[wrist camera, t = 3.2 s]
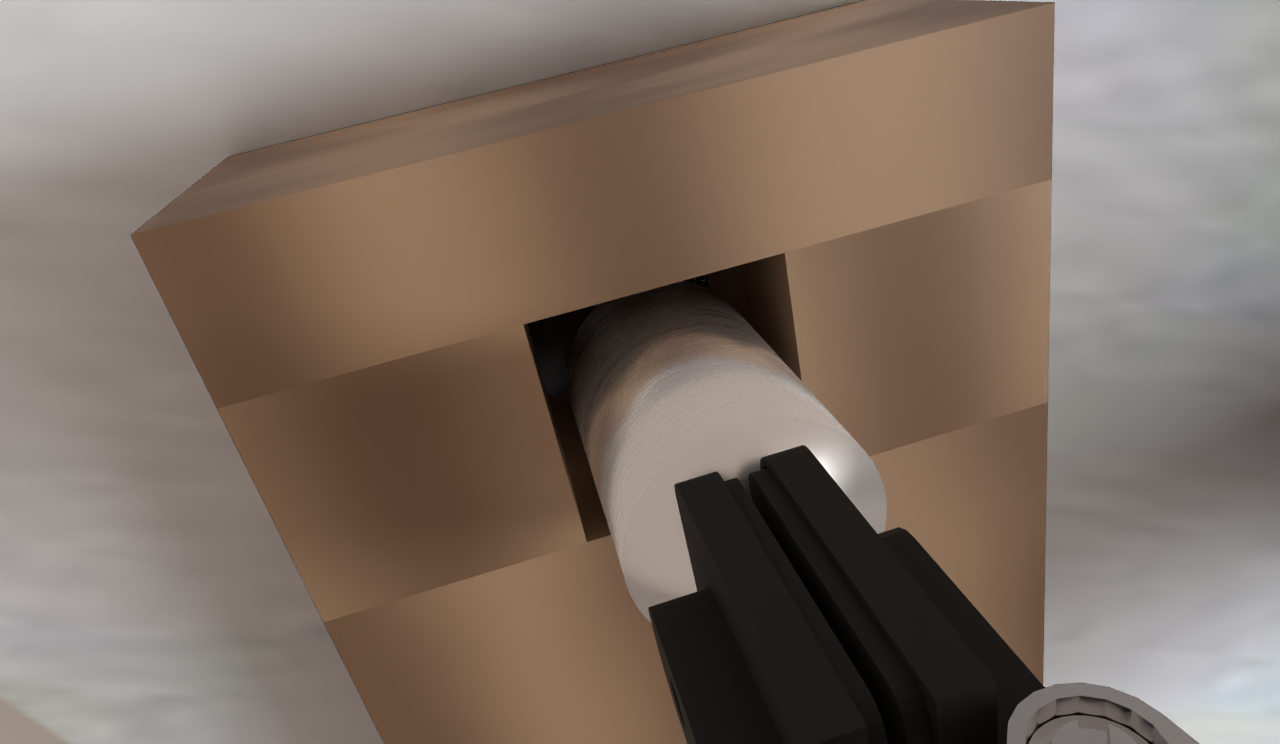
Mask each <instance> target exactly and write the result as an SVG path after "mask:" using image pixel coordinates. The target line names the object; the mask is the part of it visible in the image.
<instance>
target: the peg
mask: <svg viewBox="0 0 1280 744" xmlns="http://www.w3.org/2000/svg"><path fill="white" fill-rule="evenodd" d="M565 377H566V388H567V393H568V397H569V401H570V404H571V407H572V410H573V414H574V417H575V420H576V423H577V427H578V430H579V433H580V436H581V439H582V443H583V446H584V449H585V452H586V456H587V459H588V462H589V465H590V469H591V472H592V475H593V478H594V482H595V485H596V488H597V491H598V494H599V498H600V501H601V504H602V507H603V511H604V514H605V517H606V520H607V524H608V527H609V530H610V533H611V537H612V540H613V543H614V546H615V550H616V553H617V556H618V559H619V562H620V566H621V569H622V572H623V575H624V579H625V582H626V585H627V587H628V590H629V593H630V596H631V597H632V599H633V601H634V603H635V604H636V606H637V608H638V609H639V610H640V611H641V613H642V614H643V615H644V616H645V618H646V619H647V620H648V621H650V622H651V619H650V615H649V611H648V607H651V606H654V605H657V604H660V603H663V602H666V601H670V600H673V599H676V598H679V597H682V596H685V595H688V594H691V593H695V592H697V588H696V584H695V579H694V575H693V570H692V566H691V561H690V557H689V553H688V548H687V544H686V539H685V535H684V530H683V526H682V522H681V517H680V513H679V508H678V504H677V499H676V494H675V488H674V485H675V484H676V483H679V482H683V481H686V480H689V479H693V478H696V477H699V476H702V475H706V474H709V473H712V472H718V473H719V474H720V475H721V477H722V479H723V480H724V481H726V480H730V479H733V478H738V479H739V480H740V482H741V483H742V485H743V487H744V488H745V490H746V492H747V493H748V495H749V496H750V498H751V494H750V488H749V481H748V475H749V473H753V472H756V471H759V470H761V469H760V460H761V458H762V457H765V456H768V455H771V454H775V453H778V452H781V451H784V450H788V449H791V448H794V447H798V446H801V445H805V446H806V447H807V448H808V449H809V450H810V451H811V452H812V453H813V454H814V456H815V457H816V458H817V459H818V461H819V462H820V463H821V464H822V466H823V467H824V468H825V469H826V471H827V472H828V473H829V474H830V476H831V477H832V478H833V479H834V480H835V482H836V483H837V484H838V485H839V487H840V488H841V489H842V490H843V492H844V493H845V494H846V495H847V497H848V498H849V499H850V500H851V501H852V503H853V504H854V505H855V506H856V508H857V509H858V510H859V511H860V513H861V514H862V515H863V516H864V518H865V519H866V520H867V521H868V523H869V524H870V525H871V526H872V527H873V529H874V530H875V531H876V532H877V534H879V533H882V532H884V531H885V524H886V517H887V502H886V495H885V489H884V485H883V482H882V479H881V476H880V473H879V472H878V470H877V468H876V466H875V464H874V462H873V461H872V459H871V458H870V457H869V456H868V454H867V453H866V452H865V450H864V449H863V448H862V447H861V446H860V445H859V444H858V443H857V442H856V440H855V439H854V438H853V437H852V436H851V435H850V434H849V433H848V432H847V431H846V430H845V428H844V427H843V426H842V425H841V424H840V423H839V422H838V421H837V420H836V419H835V417H834V416H833V415H832V414H831V413H830V412H829V411H828V410H827V409H826V408H825V406H824V405H823V404H822V403H821V402H820V401H819V400H818V399H817V398H816V397H815V395H814V394H813V393H812V392H811V391H810V390H809V389H808V388H807V387H806V386H805V385H804V383H803V382H802V381H801V380H800V379H799V378H798V377H797V376H796V375H795V374H794V372H793V371H792V370H791V369H790V368H789V367H788V366H787V365H786V364H785V363H784V361H783V360H782V359H781V358H780V357H779V356H778V355H777V354H776V353H775V352H774V351H773V349H772V348H771V347H770V346H769V345H768V344H767V343H766V342H765V341H764V340H763V338H762V337H761V336H760V335H759V334H758V333H757V332H756V331H755V330H754V329H753V327H752V326H751V325H750V324H749V323H748V322H747V321H746V320H745V319H744V318H743V316H742V315H741V314H740V313H739V312H738V311H737V310H736V309H735V308H734V307H733V306H732V304H730V303H729V302H728V301H727V300H726V299H725V298H724V297H723V296H721V295H720V294H719V293H717V292H716V291H714V290H712V289H710V288H708V287H706V286H704V285H702V284H699V283H696V282H693V281H688V280H684V281H680V282H676V283H673V284H669V285H665V286H662V287H658V288H655V289H651V290H647V291H644V292H640V293H636V294H633V295H629V296H625V297H622V298H618V299H615V300H611V301H607V302H604V303H601V304H599V305H598V306H597V307H596V308H595V309H594V310H593V311H592V312H591V313H590V314H589V315H588V316H587V318H586V319H585V320H584V322H583V323H582V325H581V326H580V327H579V329H578V331H577V333H576V335H575V337H574V338H573V341H572V344H571V346H570V349H569V353H568V357H567V361H566V371H565Z"/></svg>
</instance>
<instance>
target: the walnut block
mask: <svg viewBox="0 0 1280 744" xmlns="http://www.w3.org/2000/svg"><path fill="white" fill-rule="evenodd" d="M1054 6H1055V3H1054V2H1017V1H979V0H865V1H861V2H857V3H853V4H849V5H845V6H841V7H836V8H832V9H828V10H824V11H820V12H816V13H812V14H808V15H804V16H800V17H796V18H792V19H788V20H783V21H779V22H775V23H771V24H767V25H763V26H759V27H755V28H751V29H747V30H743V31H739V32H735V33H730V34H726V35H722V36H718V37H714V38H710V39H706V40H702V41H698V42H694V43H690V44H686V45H682V46H678V47H673V48H669V49H665V50H661V51H657V52H653V53H649V54H645V55H641V56H637V57H633V58H629V59H625V60H620V61H616V62H612V63H608V64H604V65H600V66H596V67H592V68H588V69H584V70H580V71H576V72H572V73H567V74H563V75H559V76H555V77H551V78H547V79H543V80H539V81H535V82H531V83H527V84H523V85H519V86H514V87H510V88H506V89H502V90H498V91H494V92H490V93H486V94H482V95H478V96H474V97H470V98H466V99H461V100H457V101H453V102H449V103H445V104H441V105H437V106H433V107H429V108H425V109H421V110H417V111H413V112H408V113H404V114H400V115H396V116H392V117H388V118H384V119H380V120H376V121H372V122H368V123H364V124H360V125H355V126H351V127H347V128H343V129H339V130H335V131H331V132H327V133H323V134H319V135H315V136H311V137H307V138H302V139H298V140H294V141H290V142H286V143H282V144H278V145H274V146H270V147H266V148H262V149H258V150H254V151H249V152H245V153H241V154H237V155H233V156H229V157H227V158H226V159H225V160H224V161H222V162H221V163H220V164H219V165H217V166H216V167H215V168H214V169H212V170H211V171H210V172H209V173H207V174H206V175H205V176H204V177H202V178H201V179H200V180H199V181H197V182H196V183H195V184H194V185H192V186H191V187H190V188H189V189H187V190H186V191H185V192H184V193H182V194H181V195H180V196H179V197H177V198H176V199H175V200H174V201H172V202H171V203H170V204H169V205H167V206H166V207H165V208H164V209H162V210H161V211H160V212H159V213H157V214H156V215H155V216H154V217H152V218H151V219H150V220H149V221H147V222H146V223H145V224H144V225H142V226H141V227H140V228H139V229H137V230H136V231H135V232H134V233H132V234H131V237H132V239H133V241H134V243H135V245H136V247H137V249H138V251H139V253H140V255H141V257H142V259H143V261H144V263H145V265H146V267H147V269H148V271H149V273H150V275H151V277H152V279H153V281H154V283H155V285H156V287H157V289H158V291H159V293H160V295H161V297H162V299H163V301H164V303H165V305H166V307H167V309H168V311H169V313H170V315H171V317H172V319H173V321H174V323H175V325H176V327H177V329H178V331H179V333H180V335H181V337H182V339H183V341H184V343H185V345H186V347H187V349H188V351H189V353H190V355H191V357H192V360H193V362H194V364H195V366H196V368H197V370H198V372H199V374H200V376H201V378H202V380H203V382H204V384H205V386H206V388H207V390H208V392H209V394H210V396H211V398H212V400H213V402H214V404H215V406H216V408H217V410H218V412H219V414H220V416H221V418H222V420H223V422H224V424H225V426H226V428H227V430H228V432H229V434H230V436H231V438H232V440H233V442H234V444H235V446H236V448H237V450H238V452H239V454H240V456H241V458H242V460H243V462H244V464H245V466H246V468H247V470H248V472H249V474H250V476H251V478H252V480H253V482H254V484H255V486H256V488H257V490H258V492H259V494H260V496H261V498H262V500H263V502H264V504H265V506H266V508H267V510H268V512H269V514H270V516H271V518H272V520H273V522H274V524H275V526H276V528H277V530H278V532H279V534H280V536H281V538H282V540H283V542H284V544H285V546H286V548H287V550H288V552H289V554H290V556H291V558H292V560H293V562H294V564H295V566H296V568H297V570H298V572H299V574H300V576H301V578H302V580H303V582H304V584H305V586H306V588H307V590H308V592H309V594H310V596H311V598H312V600H313V602H314V604H315V606H316V608H317V610H318V612H319V614H320V616H321V618H322V620H323V622H324V624H325V626H326V628H327V630H328V632H329V634H330V636H331V638H332V640H333V642H334V644H335V646H336V648H337V650H338V652H339V654H340V656H341V658H342V660H343V662H344V664H345V666H346V668H347V670H348V672H349V674H350V676H351V678H352V680H353V682H354V684H355V686H356V688H357V690H358V692H359V694H360V696H361V698H362V700H363V702H364V704H365V706H366V708H367V710H368V712H369V714H370V716H371V718H372V720H373V722H374V724H375V726H376V728H377V730H378V732H379V734H380V736H381V738H382V740H383V742H384V744H687V741H686V738H685V735H684V732H683V729H682V726H681V723H680V720H679V717H678V714H677V711H676V708H675V705H674V701H673V698H672V695H671V692H670V688H669V685H668V682H667V678H666V675H665V671H664V668H663V664H662V661H661V657H660V654H659V650H658V646H657V642H656V639H655V635H654V631H653V627H652V623H651V622H650V621H648V620H647V619H646V618H645V616H644V615H643V614H642V613H641V611H640V610H639V609H638V608H637V606H636V604H635V603H634V601H633V599H632V597H631V596H630V593H629V590H628V587H627V585H626V582H625V579H624V575H623V572H622V569H621V566H620V562H619V559H618V556H617V553H616V550H615V546H614V543H613V540H612V537H611V533H610V530H609V527H608V524H607V520H606V517H605V514H604V511H603V507H602V504H601V501H600V498H599V494H598V491H597V488H596V485H595V482H594V478H593V475H592V472H591V469H590V465H589V462H588V459H587V456H586V452H585V449H584V446H583V443H582V439H581V436H580V433H579V430H578V427H577V423H576V420H575V417H574V414H573V410H572V407H571V404H570V401H569V397H568V393H567V394H563V395H560V396H556V397H553V398H549V396H548V392H547V389H546V385H545V382H544V378H543V375H542V372H541V368H540V365H539V361H538V358H537V354H536V351H535V347H534V344H533V341H532V337H531V334H530V330H529V327H528V323H531V322H534V321H538V320H542V319H545V318H549V317H553V316H556V315H560V314H564V313H567V312H571V311H574V310H578V309H582V308H585V307H589V306H593V305H596V304H600V303H604V302H607V301H611V300H615V299H618V298H622V297H625V296H629V295H633V294H636V293H640V292H644V291H647V290H651V289H655V288H658V287H662V286H665V285H669V284H673V283H676V282H680V281H684V280H687V279H691V278H695V277H698V276H702V275H705V274H706V276H707V282H708V288H710V289H712V290H714V291H716V292H717V293H719V294H720V295H721V296H723V297H724V298H725V299H726V300H727V301H728V302H729V303H730V304H732V306H733V307H734V308H735V309H736V310H737V311H738V312H739V313H740V314H741V315H742V316H743V318H744V319H745V320H746V321H747V322H748V323H749V324H750V325H751V326H752V327H753V329H754V330H755V331H756V332H757V333H758V334H759V335H760V336H761V337H762V338H763V340H764V341H765V342H766V343H767V344H768V345H769V346H770V347H771V348H772V349H773V351H774V352H775V353H776V354H777V355H778V356H779V357H780V358H781V359H782V360H783V361H784V363H785V364H786V365H787V366H788V367H789V368H790V369H791V370H792V371H793V372H794V374H795V375H796V376H797V377H798V378H799V379H800V380H801V381H802V382H803V383H804V385H805V386H806V387H807V388H808V389H809V390H810V391H811V392H812V393H813V394H814V395H815V397H816V398H817V399H818V400H819V401H820V402H821V403H822V404H823V405H824V406H825V408H826V409H827V410H828V411H829V412H830V413H831V414H832V415H833V416H834V417H835V419H836V420H837V421H838V422H839V423H840V424H841V425H842V426H843V427H844V428H845V430H846V431H847V432H848V433H849V434H850V435H851V436H852V437H853V438H854V439H855V440H856V442H857V443H858V444H859V445H860V446H861V447H862V448H863V449H864V450H865V452H866V453H867V454H868V456H869V457H870V458H871V459H872V461H873V462H874V464H875V466H876V468H877V470H878V472H879V473H880V476H881V479H882V482H883V485H884V489H885V495H886V502H887V517H886V524H885V531H888V530H891V529H894V528H898V527H900V528H903V529H906V530H907V531H908V532H909V533H910V534H911V535H912V536H913V537H914V538H915V539H916V540H917V541H918V542H919V543H920V544H921V546H922V547H923V548H924V549H925V550H926V551H927V553H928V554H929V555H930V556H931V557H932V558H933V559H934V561H935V562H936V563H937V564H938V565H939V566H940V567H941V569H942V570H943V571H944V572H945V573H946V574H947V575H948V577H949V578H950V579H951V580H952V581H953V582H954V584H955V585H956V586H957V587H958V588H959V589H960V590H961V592H962V593H963V594H964V595H965V596H966V597H967V598H968V600H969V601H970V602H971V603H972V604H973V605H974V607H975V608H976V609H977V610H978V611H979V612H980V613H981V615H982V616H983V617H984V618H985V619H986V620H987V621H988V623H989V624H990V625H991V626H992V627H993V628H994V630H995V631H996V632H997V633H998V634H999V635H1000V636H1001V638H1002V639H1003V640H1004V641H1005V642H1006V643H1007V644H1008V646H1009V647H1010V648H1011V649H1012V650H1013V651H1014V653H1015V654H1016V655H1017V656H1018V657H1019V658H1020V659H1021V661H1022V662H1023V663H1024V664H1025V665H1026V666H1027V667H1028V669H1029V670H1030V671H1031V672H1032V673H1033V674H1034V676H1035V677H1036V678H1037V679H1038V680H1039V681H1040V682H1041V684H1042V685H1043V652H1044V593H1045V534H1046V476H1047V417H1048V358H1049V299H1050V241H1051V182H1052V123H1053V65H1054ZM885 531H884V532H885Z"/></svg>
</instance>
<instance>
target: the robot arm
mask: <svg viewBox="0 0 1280 744" xmlns="http://www.w3.org/2000/svg"><path fill="white" fill-rule="evenodd" d="M760 469H761V470H759V471H756V472H753V473H749V475H748V481H749V488H750V494H751V498H750V496H749V495H748V493H747V492H746V490H745V488H744V487H743V485H742V483H741V482H740V480H739V479H738V478H733V479H730V480H726V481H724V480H723V479H722V477H721V475H720V474H719V473H718V472H712V473H709V474H706V475H702V476H699V477H696V478H693V479H689V480H686V481H683V482H679V483H676V484H675V485H674V488H675V494H676V499H677V504H678V508H679V513H680V517H681V522H682V526H683V530H684V535H685V539H686V544H687V548H688V553H689V557H690V561H691V566H692V570H693V575H694V579H695V584H696V588H697V592H695V593H691V594H688V595H685V596H682V597H679V598H676V599H673V600H670V601H666V602H663V603H660V604H657V605H654V606H651V607H648V611H649V615H650V619H651V623H652V627H653V631H654V635H655V639H656V642H657V646H658V650H659V654H660V657H661V661H662V664H663V668H664V671H665V675H666V678H667V682H668V685H669V688H670V692H671V695H672V698H673V701H674V705H675V708H676V711H677V714H678V717H679V720H680V723H681V726H682V729H683V732H684V735H685V738H686V741H687V744H1199V743H1198V742H1197V741H1196V740H1194V739H1193V738H1192V737H1191V736H1189V735H1188V734H1187V733H1186V732H1184V731H1183V730H1182V729H1181V728H1179V727H1178V726H1177V725H1176V724H1174V723H1173V722H1172V721H1171V720H1169V719H1168V718H1167V717H1166V716H1164V715H1163V714H1162V713H1160V712H1159V711H1157V710H1155V709H1154V708H1152V707H1151V706H1149V705H1148V704H1146V703H1144V702H1143V701H1141V700H1140V699H1138V698H1136V697H1134V696H1131V695H1129V694H1126V693H1123V692H1121V691H1118V690H1115V689H1113V688H1110V687H1105V686H1099V685H1093V684H1087V683H1069V684H1055V685H1052V686H1049V687H1047V688H1045V687H1044V686H1043V685H1042V684H1041V682H1040V681H1039V680H1038V679H1037V678H1036V677H1035V676H1034V674H1033V673H1032V672H1031V671H1030V670H1029V669H1028V667H1027V666H1026V665H1025V664H1024V663H1023V662H1022V661H1021V659H1020V658H1019V657H1018V656H1017V655H1016V654H1015V653H1014V651H1013V650H1012V649H1011V648H1010V647H1009V646H1008V644H1007V643H1006V642H1005V641H1004V640H1003V639H1002V638H1001V636H1000V635H999V634H998V633H997V632H996V631H995V630H994V628H993V627H992V626H991V625H990V624H989V623H988V621H987V620H986V619H985V618H984V617H983V616H982V615H981V613H980V612H979V611H978V610H977V609H976V608H975V607H974V605H973V604H972V603H971V602H970V601H969V600H968V598H967V597H966V596H965V595H964V594H963V593H962V592H961V590H960V589H959V588H958V587H957V586H956V585H955V584H954V582H953V581H952V580H951V579H950V578H949V577H948V575H947V574H946V573H945V572H944V571H943V570H942V569H941V567H940V566H939V565H938V564H937V563H936V562H935V561H934V559H933V558H932V557H931V556H930V555H929V554H928V553H927V551H926V550H925V549H924V548H923V547H922V546H921V544H920V543H919V542H918V541H917V540H916V539H915V538H914V537H913V536H912V535H911V534H910V533H909V532H908V531H907V530H906V529H903V528H900V527H898V528H894V529H891V530H888V531H885V532H882V533H879V534H877V532H876V531H875V530H874V529H873V527H872V526H871V525H870V524H869V523H868V521H867V520H866V519H865V518H864V516H863V515H862V514H861V513H860V511H859V510H858V509H857V508H856V506H855V505H854V504H853V503H852V501H851V500H850V499H849V498H848V497H847V495H846V494H845V493H844V492H843V490H842V489H841V488H840V487H839V485H838V484H837V483H836V482H835V480H834V479H833V478H832V477H831V476H830V474H829V473H828V472H827V471H826V469H825V468H824V467H823V466H822V464H821V463H820V462H819V461H818V459H817V458H816V457H815V456H814V454H813V453H812V452H811V451H810V450H809V449H808V448H807V447H806V446H805V445H801V446H798V447H794V448H791V449H788V450H784V451H781V452H778V453H775V454H771V455H768V456H765V457H762V458H761V460H760Z"/></svg>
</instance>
